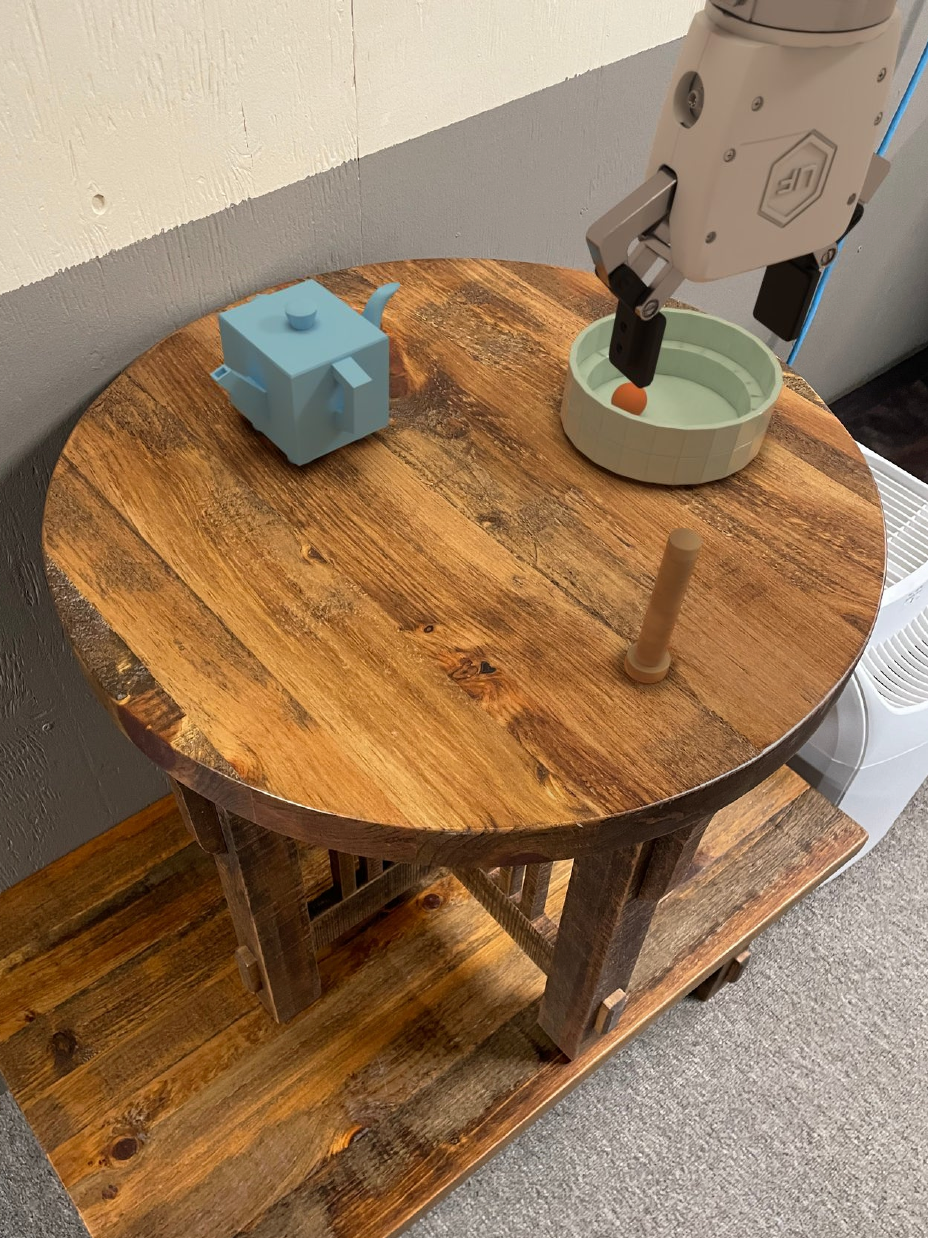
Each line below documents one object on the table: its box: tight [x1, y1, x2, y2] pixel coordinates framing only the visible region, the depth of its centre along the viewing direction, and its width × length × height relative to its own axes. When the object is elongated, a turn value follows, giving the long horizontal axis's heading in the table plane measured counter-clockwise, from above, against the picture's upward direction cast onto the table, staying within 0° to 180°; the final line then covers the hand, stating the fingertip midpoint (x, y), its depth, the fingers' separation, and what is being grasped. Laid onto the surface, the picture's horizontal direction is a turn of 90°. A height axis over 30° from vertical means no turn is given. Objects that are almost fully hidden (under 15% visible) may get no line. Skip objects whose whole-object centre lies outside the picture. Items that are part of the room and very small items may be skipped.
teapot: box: [209, 278, 401, 467], centre depth 82 cm, size 16×18×11 cm
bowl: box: [559, 306, 784, 486], centre depth 84 cm, size 17×17×6 cm
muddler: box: [623, 527, 703, 684], centre depth 65 cm, size 3×3×12 cm
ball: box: [611, 382, 647, 416], centre depth 85 cm, size 3×3×3 cm
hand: (703, 350), depth 54 cm, fingers open, 9 cm apart
